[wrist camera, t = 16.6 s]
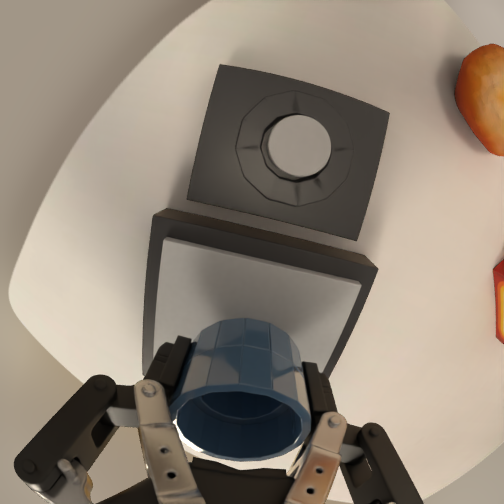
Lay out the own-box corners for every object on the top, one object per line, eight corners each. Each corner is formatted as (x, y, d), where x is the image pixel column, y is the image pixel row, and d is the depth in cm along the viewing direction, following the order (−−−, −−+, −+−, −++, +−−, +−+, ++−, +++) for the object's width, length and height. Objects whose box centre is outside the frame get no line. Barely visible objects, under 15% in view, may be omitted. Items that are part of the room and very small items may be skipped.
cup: (186, 381, 15) (166, 446, 10) (199, 300, 13) (171, 367, 8) (280, 399, 15) (284, 466, 10) (313, 324, 13) (334, 395, 9)
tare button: (261, 167, 13) (261, 167, 12) (274, 114, 12) (276, 107, 11) (316, 181, 13) (323, 184, 12) (329, 129, 12) (337, 125, 11)
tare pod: (192, 196, 16) (178, 203, 13) (222, 71, 14) (215, 53, 11) (349, 235, 17) (366, 249, 14) (380, 115, 14) (402, 108, 11)
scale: (151, 356, 20) (139, 380, 17) (166, 207, 16) (148, 216, 14) (307, 388, 21) (312, 414, 18) (365, 255, 17) (383, 272, 14)
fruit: (525, 100, 11) (575, 131, 5) (477, 148, 16) (515, 193, 11) (471, 25, 10) (518, 24, 4) (419, 78, 15) (451, 94, 10)
